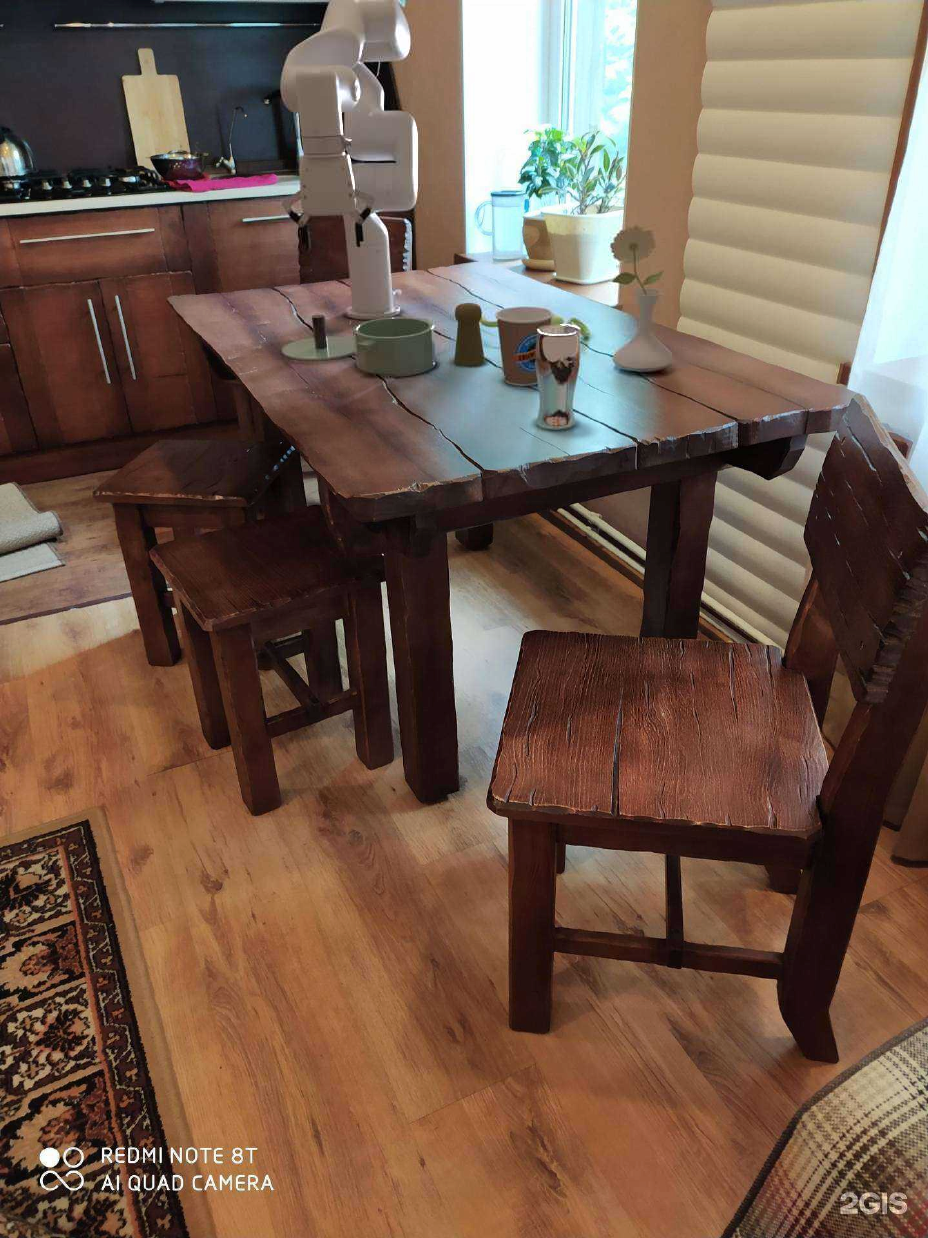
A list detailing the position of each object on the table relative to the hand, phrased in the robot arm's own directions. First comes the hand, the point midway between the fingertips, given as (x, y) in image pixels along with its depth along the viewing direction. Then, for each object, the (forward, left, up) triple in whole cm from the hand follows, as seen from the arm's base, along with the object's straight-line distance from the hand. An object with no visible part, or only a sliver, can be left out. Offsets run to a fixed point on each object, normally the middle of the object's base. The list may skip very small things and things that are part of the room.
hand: (333, 246), depth 173 cm
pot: (+2, +14, -20) cm, 25 cm away
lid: (+1, -5, -20) cm, 20 cm away
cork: (-6, +26, -21) cm, 34 cm away
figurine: (-23, +29, -21) cm, 43 cm away
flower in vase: (-16, +57, -21) cm, 63 cm away
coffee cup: (0, +41, -21) cm, 46 cm away
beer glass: (+18, +56, -21) cm, 63 cm away
